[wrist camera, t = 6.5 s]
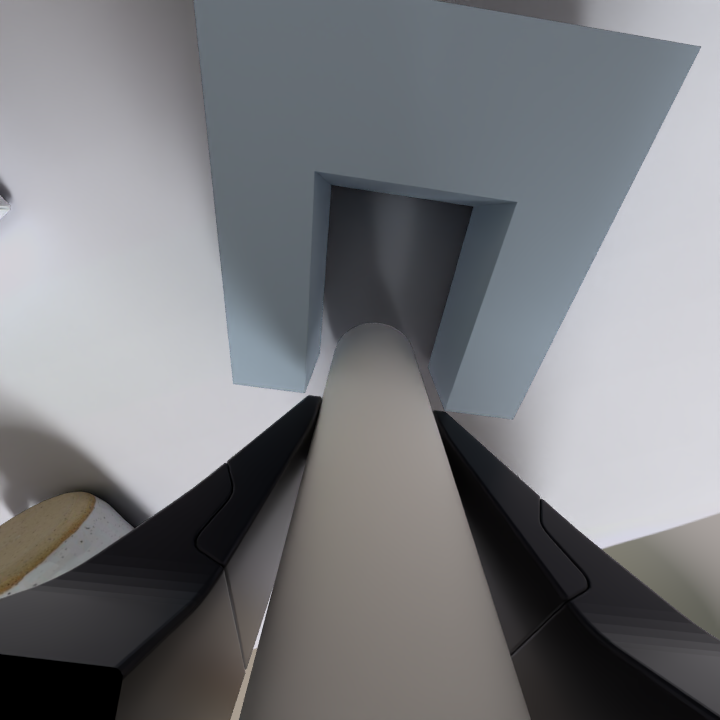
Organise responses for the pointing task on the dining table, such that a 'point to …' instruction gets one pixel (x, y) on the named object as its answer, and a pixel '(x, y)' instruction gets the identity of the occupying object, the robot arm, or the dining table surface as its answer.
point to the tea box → (4, 207)
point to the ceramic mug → (55, 539)
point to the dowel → (380, 565)
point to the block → (421, 166)
